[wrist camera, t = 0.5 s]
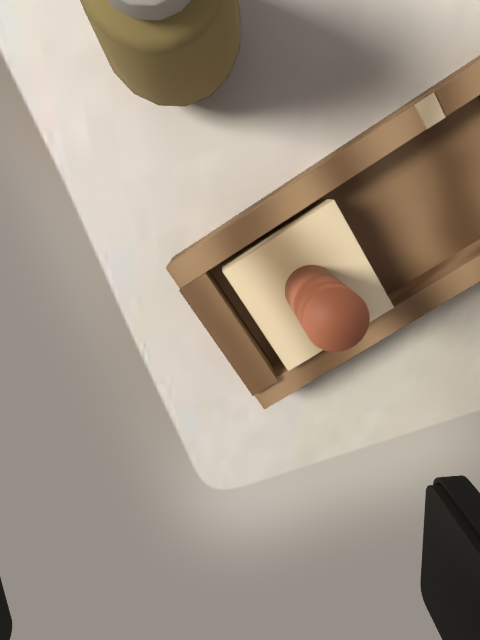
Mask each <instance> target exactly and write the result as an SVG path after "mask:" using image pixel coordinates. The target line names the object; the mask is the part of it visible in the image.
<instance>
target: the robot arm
mask: <svg viewBox="0 0 480 640" xmlns="http://www.w3.org/2000/svg"><path fill="white" fill-rule="evenodd" d="M424 517H425V518H424V533H423V551H422V568H421V592H422V596H423V600H424V602H425V605H426V607H427V609H428V611H429V613H430V615H431V617H432V619H433V621H434V623H435V625H436V628H437V629H438V632H439V634H440V635H441V638H442V640H480V493H479V492H478V490H477V489H476V488H475V487H474V486H473V485H472V483H471V482H470V481H469V480H468V479H467V478H466V477H465V476H450V477H439V478H436V479H435V480H434V482H433V485H429V486H427V488H426V499H425V516H424ZM11 632H12V619H11V615H10V612H9V608H8V604H7V600H6V597H5V593H4V590H3V586H2V582H1V578H0V640H10V637H11Z"/></svg>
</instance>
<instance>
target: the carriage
mask: <svg viewBox="0 0 480 640" xmlns="http://www.w3.org/2000/svg"><path fill="white" fill-rule="evenodd" d="M222 272H223V273H224V275H225V276H226V278H227V279H228V281H229V282H230V284H231V285H232V287H233V288H234V290H235V291H236V293H237V294H238V296H239V297H240V299H241V300H242V302H243V303H244V305H245V306H246V308H247V309H248V311H249V313H250V314H251V316H252V317H253V319H254V320H255V322H256V323H257V325H258V326H259V328H260V329H261V331H262V332H263V334H264V335H265V337H266V338H267V340H268V341H269V343H270V344H271V346H272V347H273V349H274V350H275V352H276V353H277V355H278V356H279V358H280V359H281V361H282V362H283V364H284V365H285V367H286V369H287V370H288V371H289V370H291V369H293V368H294V367H296V366H298V365H299V364H301V363H303V362H304V361H306V360H308V359H309V358H311V357H313V356H314V355H316V354H318V353H319V352H321V351H323V350H325V351H328V352H341V351H345V350H348V349H350V348H352V347H354V346H355V345H357V344H358V343H359V342H360V341H361V340H362V339H363V337H364V336H365V334H366V332H367V330H368V327H369V322H371V321H373V320H374V319H376V318H378V317H379V316H381V315H383V314H384V313H386V312H387V311H389V310H391V309H392V308H394V306H393V305H392V303H391V301H390V299H389V297H388V296H387V294H386V292H385V290H384V288H383V287H382V285H381V283H380V281H379V279H378V278H377V276H376V274H375V272H374V271H373V269H372V267H371V265H370V263H369V262H368V260H367V258H366V256H365V254H364V253H363V251H362V249H361V247H360V245H359V244H358V242H357V240H356V238H355V236H354V235H353V233H352V231H351V229H350V227H349V226H348V224H347V222H346V220H345V218H344V217H343V215H342V213H341V211H340V209H339V208H338V206H337V204H336V202H335V201H334V200H333V199H324V198H322V199H321V200H319V201H318V202H316V203H314V204H313V205H311V206H310V207H308V208H307V209H305V210H304V211H302V212H301V213H299V214H297V215H296V216H294V217H293V218H291V219H290V220H288V221H287V222H285V223H284V224H282V225H280V226H279V227H277V228H276V229H274V230H273V231H271V232H270V233H268V234H267V235H265V236H263V237H262V238H260V239H259V240H257V241H256V242H254V243H253V244H251V245H250V246H248V247H246V248H245V249H243V250H242V251H240V252H239V253H237V254H236V255H234V256H232V257H231V258H229V259H228V260H226V261H225V262H223V263H222Z"/></svg>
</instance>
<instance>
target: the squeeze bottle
mask: <svg viewBox="0 0 480 640" xmlns="http://www.w3.org/2000/svg"><path fill="white" fill-rule="evenodd" d="M80 1H81V3H82V6H83V8H84V10H85V13H86V15H87V17H88V19H89V21H90V23H91V26H92V28H93V30H94V32H95V34H96V36H97V38H98V40H99V42H100V44H101V47H102V49H103V51H104V53H105V55H106V57H107V59H108V61H109V63H110V65H111V67H112V70H113V72H114V73H115V74H116V75H117V76H118V77H119V78H120V79H121V80H122V81H123V82H124V84H125V85H126V86H127V87H128V88H129V89H130V90H131V91H132V92H133V93H134V94H136V95H138V96H140V97H142V98H144V99H147V100H149V101H151V102H153V103H155V104H157V105H163V106H187V105H190V104H192V103H194V102H197V101H199V100H201V99H204V98H206V97H208V96H210V95H211V94H212V93H213V92H214V91H215V90H216V89H217V88H218V87H219V86H220V85H221V84H222V83H223V82H224V81H225V79H226V78H227V77H228V76H229V75H230V72H231V69H232V67H233V64H234V62H235V59H236V57H237V54H238V52H239V49H240V11H239V5H238V0H80Z"/></svg>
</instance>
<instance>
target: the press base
mask: <svg viewBox="0 0 480 640" xmlns="http://www.w3.org/2000/svg"><path fill="white" fill-rule="evenodd" d="M322 198H324V199H333V200H334V201H335V202H336V204H337V206H338V208H339V209H340V211H341V213H342V215H343V217H344V218H345V220H346V222H347V224H348V226H349V227H350V229H351V231H352V233H353V235H354V236H355V238H356V240H357V242H358V244H359V245H360V247H361V249H362V251H363V253H364V254H365V256H366V258H367V260H368V262H369V263H370V265H371V267H372V269H373V271H374V272H375V274H376V276H377V278H378V279H379V281H380V283H381V285H382V287H383V288H384V290H385V292H386V294H387V296H388V297H389V299H390V301H391V303H392V305H393V306H394V308H392V309H391V310H389V311H387V312H386V313H384V314H383V315H381V316H379V317H378V318H376V319H374V320H373V321H371V322H369V327H368V330H367V332H366V334H365V336H364V337H363V339H362V340H361V341H360V342H359V343H358V344H357V345H355V346H354V347H352V348H350V349H348V350H345V351H341V352H328V351H325V350H323V351H321V352H319V353H318V354H316V355H314V356H313V357H311V358H309V359H308V360H306V361H304V362H303V363H301V364H299V365H298V366H296V367H294V368H293V369H291V370H289V371H288V370H287V369H286V367H285V365H284V364H283V362H282V361H281V359H280V358H279V356H278V355H277V353H276V352H275V350H274V349H273V347H272V346H271V344H270V343H269V341H268V340H267V338H266V337H265V335H264V334H263V332H262V331H261V329H260V328H259V326H258V325H257V323H256V322H255V320H254V319H253V317H252V316H251V314H250V313H249V311H248V309H247V308H246V306H245V305H244V303H243V302H242V300H241V299H240V297H239V296H238V294H237V293H236V291H235V290H234V288H233V287H232V285H231V284H230V282H229V281H228V279H227V278H226V276H225V275H224V273H223V272H222V263H223V262H225V261H226V260H228V259H229V258H231V257H232V256H234V255H236V254H237V253H239V252H240V251H242V250H243V249H245V248H246V247H248V246H250V245H251V244H253V243H254V242H256V241H257V240H259V239H260V238H262V237H263V236H265V235H267V234H268V233H270V232H271V231H273V230H274V229H276V228H277V227H279V226H280V225H282V224H284V223H285V222H287V221H288V220H290V219H291V218H293V217H294V216H296V215H297V214H299V213H301V212H302V211H304V210H305V209H307V208H308V207H310V206H311V205H313V204H314V203H316V202H318V201H319V200H321V199H322ZM166 269H167V271H168V272H169V273H170V275H171V276H172V278H173V279H174V281H175V282H176V283H177V285H178V286H179V288H180V290H179V291H180V292H181V294H182V295H183V297H184V298H185V299H186V301H187V302H188V304H189V305H190V307H191V308H192V309H193V311H194V312H195V314H196V315H197V317H198V318H199V320H200V321H201V322H202V324H203V325H204V327H205V328H206V330H207V331H208V332H209V334H210V335H211V337H212V338H213V340H214V341H215V342H216V344H217V345H218V347H219V348H220V350H221V351H222V352H223V354H224V355H225V357H226V358H227V360H228V361H229V362H230V364H231V365H232V367H233V368H234V370H235V371H236V372H237V374H238V375H239V377H240V378H241V380H242V381H243V382H244V384H245V385H246V387H247V388H248V390H249V391H250V392H251V394H252V395H253V396H254V395H255V397H256V398H257V400H258V401H259V402H260V404H261V405H262V407H263V408H264V409H266V408H268V407H269V406H271V405H273V404H274V403H276V402H278V401H279V400H281V399H283V398H285V397H286V396H288V395H290V394H291V393H293V392H295V391H296V390H298V389H300V388H301V387H303V386H305V385H306V384H308V383H310V382H311V381H313V380H315V379H316V378H318V377H320V376H322V375H323V374H325V373H327V372H328V371H330V370H332V369H333V368H335V367H337V366H338V365H340V364H342V363H343V362H345V361H347V360H348V359H350V358H352V357H353V356H355V355H357V354H359V353H360V352H362V351H364V350H365V349H367V348H369V347H370V346H372V345H374V344H375V343H377V342H379V341H380V340H382V339H384V338H385V337H387V336H389V335H390V334H392V333H394V332H396V331H397V330H399V329H401V328H402V327H404V326H406V325H407V324H409V323H411V322H412V321H414V320H416V319H417V318H419V317H421V316H422V315H424V314H426V313H427V312H429V311H431V310H433V309H434V308H436V307H438V306H439V305H441V304H443V303H444V302H446V301H448V300H449V299H451V298H453V297H454V296H456V295H458V294H459V293H461V292H463V291H464V290H466V289H468V288H470V287H471V286H473V285H475V284H476V283H478V282H480V56H478V57H477V58H475V59H474V60H472V61H471V62H469V63H468V64H466V65H465V66H463V67H461V68H460V69H458V70H457V71H455V72H454V73H452V74H451V75H449V76H448V77H446V78H445V79H443V80H442V81H440V82H439V83H437V84H436V85H434V86H433V87H431V88H430V89H428V90H427V91H425V92H424V93H422V94H420V95H419V96H417V97H416V98H414V99H413V100H411V101H410V102H408V103H407V104H405V105H404V106H402V107H401V108H399V109H398V110H396V111H395V112H393V113H392V114H390V115H389V116H387V117H386V118H384V119H382V120H381V121H379V122H378V123H376V124H375V125H373V126H372V127H370V128H369V129H367V130H366V131H364V132H363V133H361V134H360V135H358V136H357V137H355V138H354V139H352V140H351V141H349V142H348V143H346V144H345V145H343V146H341V147H340V148H338V149H337V150H335V151H334V152H332V153H331V154H329V155H328V156H326V157H325V158H323V159H322V160H320V161H319V162H317V163H316V164H314V165H313V166H311V167H310V168H308V169H307V170H305V171H303V172H302V173H300V174H299V175H297V176H296V177H294V178H293V179H291V180H290V181H288V182H287V183H285V184H284V185H282V186H281V187H279V188H278V189H276V190H275V191H273V192H272V193H270V194H269V195H267V196H266V197H264V198H262V199H261V200H259V201H258V202H256V203H255V204H253V205H252V206H250V207H249V208H247V209H246V210H244V211H243V212H241V213H240V214H238V215H237V216H235V217H234V218H232V219H231V220H229V221H228V222H226V223H225V224H223V225H221V226H220V227H218V228H217V229H215V230H214V231H212V232H211V233H209V234H208V235H206V236H205V237H203V238H202V239H200V240H199V241H197V242H196V243H194V244H193V245H191V246H190V247H188V248H187V249H185V250H183V251H182V252H180V253H179V254H177V255H176V256H174V257H173V258H172V259H171V261H170V262H169V264H168V265H167V267H166Z"/></svg>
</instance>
